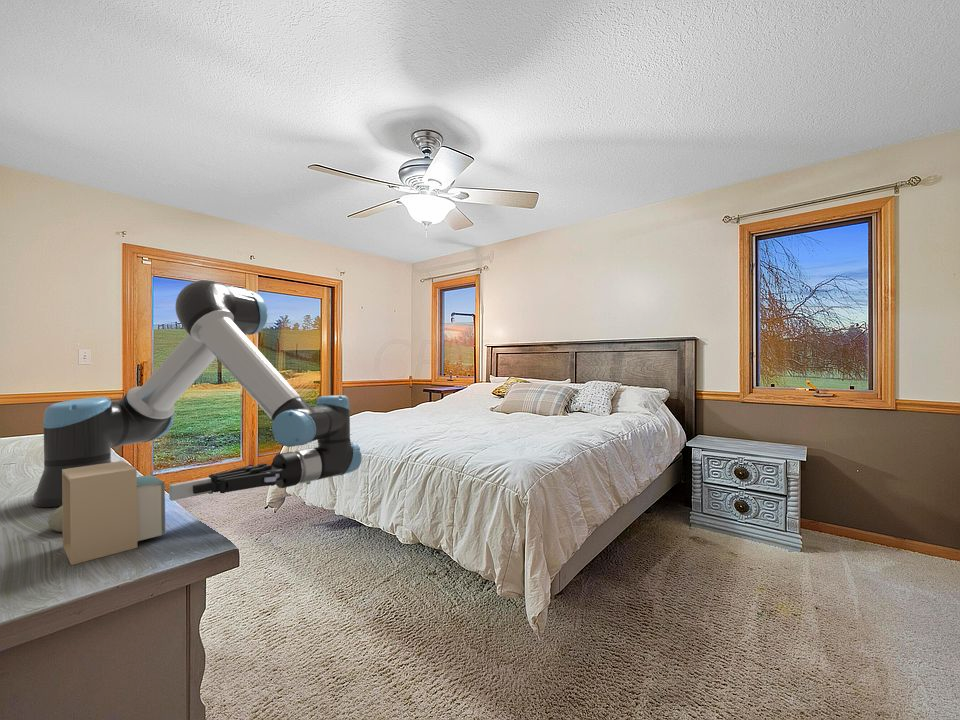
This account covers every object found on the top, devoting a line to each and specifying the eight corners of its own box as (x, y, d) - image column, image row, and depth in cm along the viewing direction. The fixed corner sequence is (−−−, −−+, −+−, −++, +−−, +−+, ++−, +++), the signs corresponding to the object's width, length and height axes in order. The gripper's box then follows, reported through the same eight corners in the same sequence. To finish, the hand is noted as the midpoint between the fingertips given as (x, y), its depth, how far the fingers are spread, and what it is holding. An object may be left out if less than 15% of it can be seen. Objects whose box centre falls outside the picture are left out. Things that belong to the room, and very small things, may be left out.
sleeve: (123, 532, 79) (122, 460, 79) (137, 547, 71) (136, 468, 72) (62, 546, 73) (62, 469, 73) (71, 565, 65) (70, 478, 66)
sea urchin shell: (51, 529, 76) (47, 491, 80) (48, 553, 80) (45, 516, 83) (118, 515, 83) (112, 481, 87) (112, 537, 86) (107, 504, 90)
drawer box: (151, 522, 81) (151, 474, 81) (165, 534, 75) (164, 482, 75) (79, 539, 74) (79, 486, 74) (88, 553, 67) (87, 496, 68)
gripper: (310, 489, 93) (181, 520, 75) (282, 480, 102) (161, 506, 84) (309, 454, 93) (180, 477, 75) (282, 448, 102) (160, 467, 84)
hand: (170, 492), depth 80 cm, fingers closed
